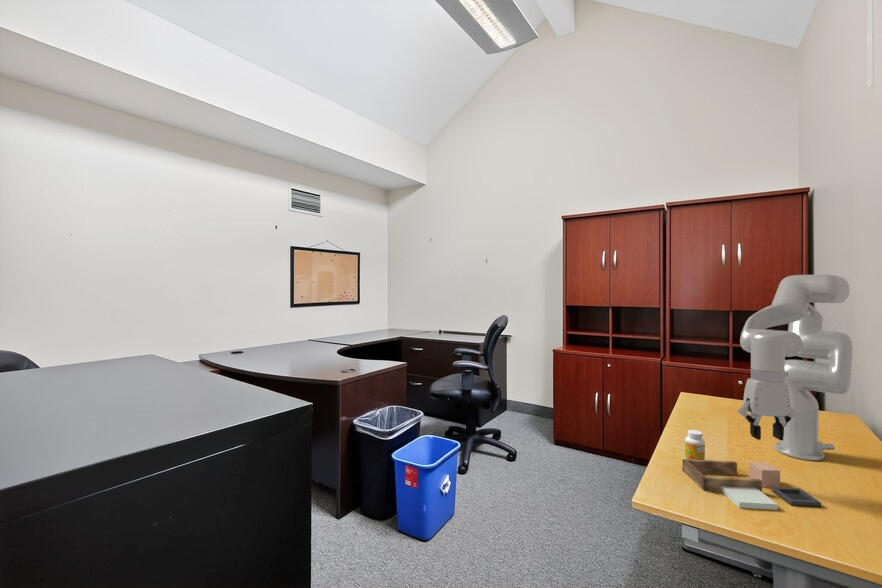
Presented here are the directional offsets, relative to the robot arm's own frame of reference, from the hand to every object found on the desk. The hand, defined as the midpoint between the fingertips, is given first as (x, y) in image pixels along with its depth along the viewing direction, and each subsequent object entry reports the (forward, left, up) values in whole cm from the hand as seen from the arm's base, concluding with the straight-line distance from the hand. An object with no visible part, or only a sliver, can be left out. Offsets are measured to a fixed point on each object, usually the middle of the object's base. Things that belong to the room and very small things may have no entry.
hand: (766, 437), depth 113 cm
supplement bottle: (+13, -13, -14) cm, 23 cm away
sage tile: (+11, +10, -13) cm, 20 cm away
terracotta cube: (0, 0, -14) cm, 14 cm away
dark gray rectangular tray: (-2, +8, -13) cm, 16 cm away
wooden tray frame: (+13, 0, -13) cm, 18 cm away
